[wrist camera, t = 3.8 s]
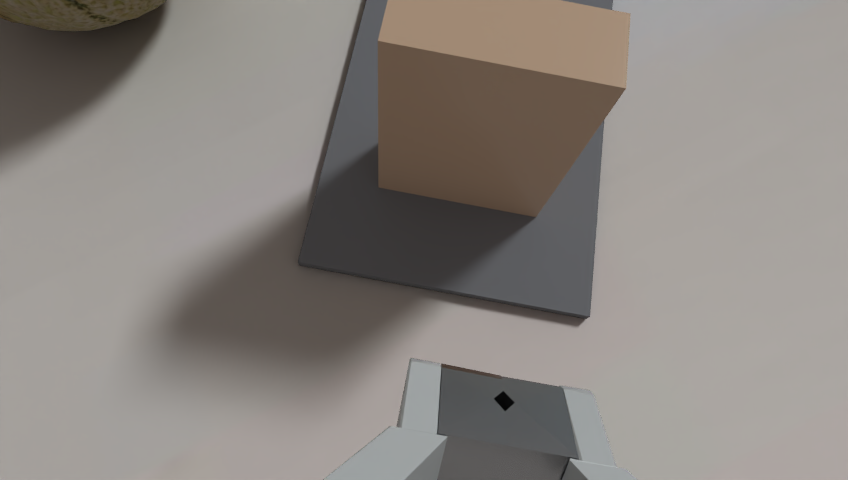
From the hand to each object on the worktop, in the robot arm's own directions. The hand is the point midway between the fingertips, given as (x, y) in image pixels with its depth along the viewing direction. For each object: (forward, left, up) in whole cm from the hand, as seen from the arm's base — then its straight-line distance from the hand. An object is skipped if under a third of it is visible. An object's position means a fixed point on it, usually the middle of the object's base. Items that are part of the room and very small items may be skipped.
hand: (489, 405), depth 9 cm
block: (+8, +10, -16) cm, 20 cm away
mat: (+10, +13, -17) cm, 23 cm away
